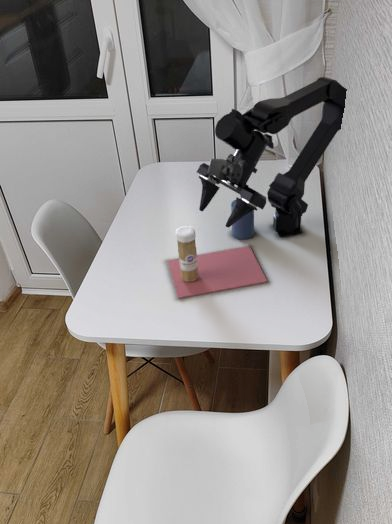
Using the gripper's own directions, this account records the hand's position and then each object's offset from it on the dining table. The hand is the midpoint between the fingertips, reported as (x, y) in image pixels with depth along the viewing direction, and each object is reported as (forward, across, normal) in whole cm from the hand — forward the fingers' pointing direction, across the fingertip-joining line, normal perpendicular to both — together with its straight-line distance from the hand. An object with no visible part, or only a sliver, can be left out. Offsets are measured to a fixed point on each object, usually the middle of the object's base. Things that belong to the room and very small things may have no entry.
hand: (213, 218), depth 127 cm
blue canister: (+1, -4, +20) cm, 21 cm away
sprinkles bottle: (+16, 0, +2) cm, 16 cm away
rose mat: (+11, +3, +7) cm, 14 cm away
